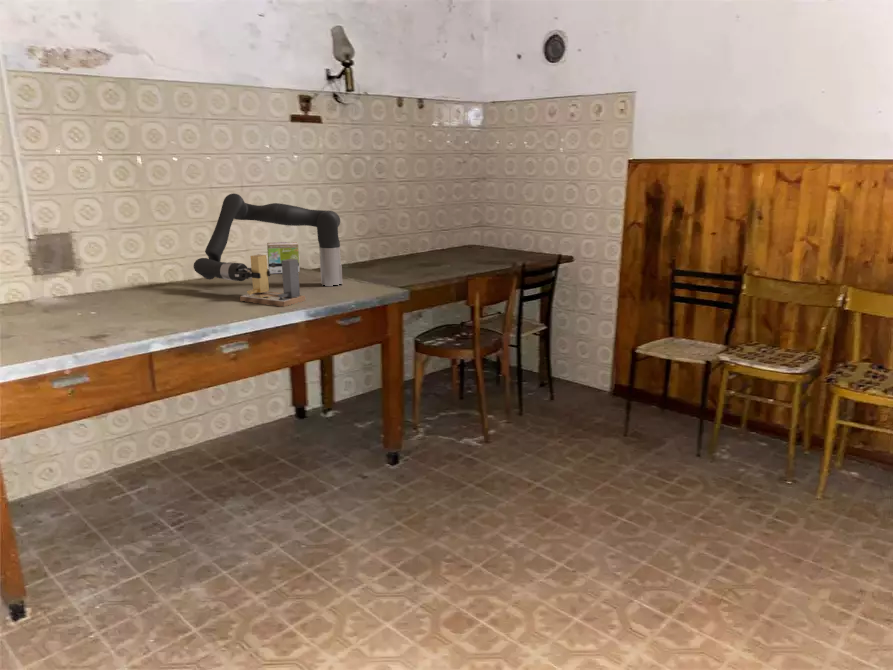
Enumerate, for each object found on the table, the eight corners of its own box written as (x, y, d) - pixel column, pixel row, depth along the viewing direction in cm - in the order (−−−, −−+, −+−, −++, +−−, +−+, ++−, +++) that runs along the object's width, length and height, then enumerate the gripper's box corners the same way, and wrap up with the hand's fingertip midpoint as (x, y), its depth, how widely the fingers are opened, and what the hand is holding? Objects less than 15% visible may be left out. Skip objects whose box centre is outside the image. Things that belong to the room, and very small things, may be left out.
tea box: (269, 274, 336) (267, 244, 332) (268, 271, 345) (266, 242, 341) (300, 272, 340) (298, 243, 336) (298, 269, 349) (296, 241, 346)
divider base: (240, 301, 275) (236, 259, 271) (262, 295, 286) (259, 255, 282) (284, 306, 265) (281, 263, 260) (305, 300, 276) (303, 259, 272)
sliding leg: (245, 294, 276) (242, 257, 272) (261, 290, 284) (258, 254, 280) (252, 295, 274) (249, 258, 270) (269, 291, 282) (266, 254, 278)
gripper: (220, 265, 278) (251, 268, 271) (245, 260, 290) (276, 263, 283) (222, 283, 280) (253, 286, 273) (246, 277, 292) (277, 280, 285)
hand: (264, 274), depth 278 cm, fingers closed on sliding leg, 5 cm apart
